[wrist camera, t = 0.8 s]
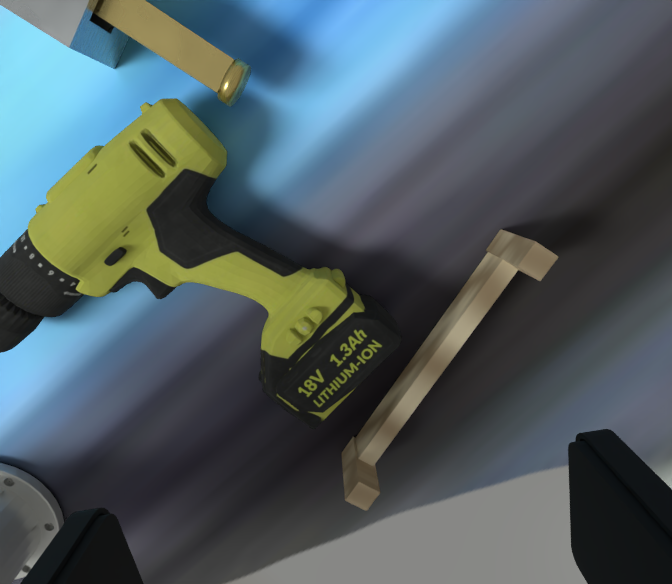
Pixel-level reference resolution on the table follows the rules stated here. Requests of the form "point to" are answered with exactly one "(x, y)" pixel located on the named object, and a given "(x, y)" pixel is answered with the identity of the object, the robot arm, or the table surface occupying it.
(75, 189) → the cordless drill
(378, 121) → the table surface
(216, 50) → the brass capped square peg
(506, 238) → the rail
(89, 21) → the socket block
